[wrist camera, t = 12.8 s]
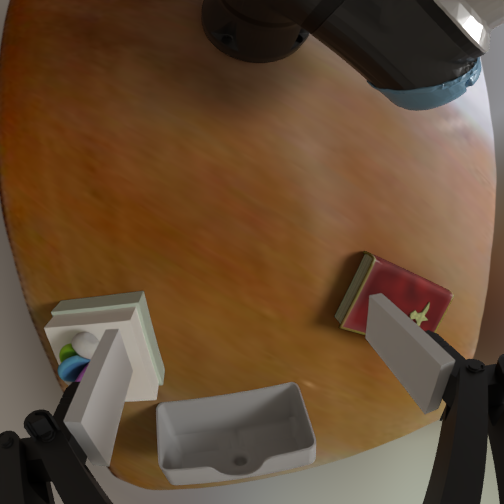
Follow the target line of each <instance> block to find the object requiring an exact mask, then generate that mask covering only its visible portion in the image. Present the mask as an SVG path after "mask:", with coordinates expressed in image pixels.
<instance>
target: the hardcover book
mask: <svg viewBox="0 0 504 504" xmlns="http://www.w3.org/2000/svg"><path fill="white" fill-rule="evenodd" d="M363 254H365V255H364V257H363V259H362V261H361V263H360V265H359V268H358V270H357V272H356V274H355V276H354V278H353V280H352V282H351V284H350V286H349V288H348V290H347V292H346V294H345V296H344V298H343V300H342V302H341V304H340V306H339V308H338V310H337V312H336V314H335V316H334V317H335V318H336V319H337V320H338V321H339V323H340V325H339V328H341V329H344V330H348V331H351V332H355V333H359V334H362V335H366V328H367V317H368V306H369V295H374V294H379V293H382V294H383V295H384V296H385V297H387V298H388V299H389V300H390V301H391V302H392V303H393V304H395V305H396V306H397V307H398V308H399V309H400V310H401V311H402V312H404V313H405V314H406V315H407V316H408V317H409V318H410V319H411V320H412V321H414V322H415V323H416V324H417V325H418V326H419V327H420V328H421V329H422V330H423V331H427V330H430V331H432V332H434V333H435V332H436V330H437V328H438V327H439V325H440V323H441V321H442V319H443V317H444V315H445V313H446V312H447V310H448V308H449V306H450V304H451V302H452V300H453V298H454V294H453V293H452V292H451V291H449V290H447V289H445V288H443V287H441V286H439V285H437V284H435V283H433V282H431V281H429V280H427V279H425V278H423V277H421V276H419V275H416V274H414V273H412V272H410V271H408V270H406V269H404V268H402V267H399V266H397V265H395V264H393V263H391V262H389V261H386V260H384V259H382V258H380V257H378V256H376V255H373V254H371V253H369V252H367V251H364V252H363Z"/></svg>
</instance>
